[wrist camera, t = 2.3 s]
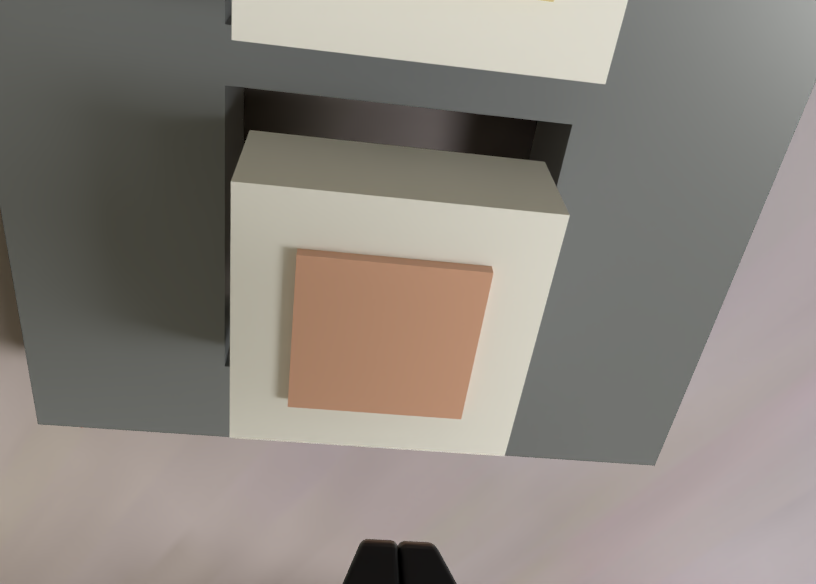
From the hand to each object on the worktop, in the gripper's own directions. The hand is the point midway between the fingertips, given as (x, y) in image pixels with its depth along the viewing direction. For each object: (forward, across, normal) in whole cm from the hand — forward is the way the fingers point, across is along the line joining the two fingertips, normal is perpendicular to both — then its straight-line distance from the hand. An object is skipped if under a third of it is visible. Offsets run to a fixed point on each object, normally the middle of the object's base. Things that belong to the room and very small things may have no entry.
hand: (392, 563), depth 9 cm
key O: (+6, 0, 0) cm, 6 cm away
